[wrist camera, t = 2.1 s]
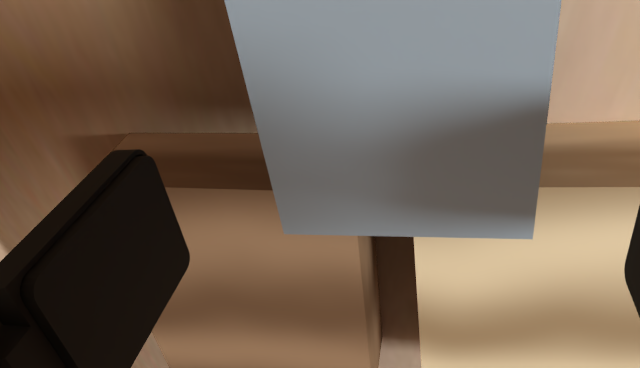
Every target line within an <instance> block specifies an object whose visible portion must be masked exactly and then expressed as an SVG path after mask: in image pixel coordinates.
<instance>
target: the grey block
mask: <svg viewBox="0 0 640 368" xmlns="http://www.w3.org/2000/svg"><path fill="white" fill-rule="evenodd" d="M224 1H225V5H226V9H227V13H228V17H229V21H230V25H231V29H232V32H233V36H234V40H235V44H236V48H237V52H238V56H239V60H240V64H241V68H242V72H243V76H244V79H245V83H246V87H247V91H248V95H249V99H250V103H251V107H252V111H253V115H254V119H255V122H256V126H257V130H258V134H259V138H260V142H261V146H262V150H263V154H264V158H265V162H266V166H267V169H268V173H269V177H270V181H271V185H272V189H273V193H274V197H275V201H276V205H277V209H278V213H279V216H280V220H281V224H282V228H283V232H284V234H299V235H347V236H396V237H444V238H493V239H533V233H534V224H535V216H536V208H537V199H538V191H539V183H540V174H541V166H542V158H543V149H544V141H545V133H546V125H547V116H548V108H549V100H550V91H551V83H552V75H553V66H554V58H555V50H556V41H557V33H558V25H559V16H560V8H561V0H224Z"/></svg>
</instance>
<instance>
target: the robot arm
mask: <svg viewBox="0 0 640 368" xmlns="http://www.w3.org/2000/svg"><path fill="white" fill-rule="evenodd" d="M189 262H190V253H189V250H188V247H187V244H186V242H185V239H184V237H183V234H182V231H181V229H180V226H179V223H178V221H177V218H176V216H175V213H174V210H173V208H172V205H171V202H170V200H169V197H168V195H167V192H166V189H165V187H164V184H163V181H162V179H161V176H160V173H159V171H158V168H157V166H156V163H155V161H154V159H153V158H152V157H150V156H147V154H146V153H145V152H144V151H143V150H140V149H134V150H114V151H112V152H111V153H110V154H109V155H108V156H107V157H106V158H105V159H104V160H103V161H102V162H101V163H100V164H99V165H98V166H96V167H95V168H94V169H93V170H92V171H91V172H90V173H89V174H88V175H87V176H86V177H85V178H84V179H83V180H82V181H81V182H80V183H79V184H78V185H77V186H76V187H75V188H74V189H73V190H72V191H71V192H70V193H69V194H68V195H67V196H66V197H65V198H64V199H63V200H62V201H61V202H60V203H59V204H58V205H57V206H56V207H55V208H54V209H53V210H52V211H51V212H50V213H49V214H48V215H47V216H46V217H45V218H44V219H43V220H42V221H41V222H40V223H39V224H38V225H37V226H36V227H35V228H34V229H33V230H32V231H31V232H30V233H29V234H28V235H27V236H26V237H25V238H24V239H23V240H22V241H21V242H20V243H19V244H18V245H17V246H16V247H15V248H14V249H13V250H12V251H11V252H10V253H9V254H8V255H7V256H6V257H5V258H4V259H3V260H2V261H1V262H0V368H131V366H132V364H133V363H134V361H135V359H136V357H137V356H138V354H139V352H140V350H141V349H142V347H143V345H144V344H145V342H146V340H147V338H148V337H149V335H150V333H151V331H152V330H153V328H154V326H155V324H156V323H157V321H158V319H159V317H160V316H161V314H162V312H163V310H164V309H165V307H166V305H167V304H168V302H169V300H170V298H171V297H172V295H173V293H174V291H175V290H176V288H177V286H178V284H179V283H180V281H181V279H182V277H183V276H184V274H185V272H186V271H187V269H188V266H189ZM624 274H625V281H626V284H627V287H628V290H629V292H630V295H631V297H632V300H633V302H634V305H635V307H636V310H637V312H638V315H639V318H640V205H639V209H638V213H637V217H636V221H635V225H634V229H633V233H632V237H631V241H630V245H629V249H628V253H627V257H626V261H625V266H624Z"/></svg>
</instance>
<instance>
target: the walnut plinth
mask: <svg viewBox="0 0 640 368" xmlns="http://www.w3.org/2000/svg"><path fill="white" fill-rule="evenodd" d="M134 149H140V150H143V151H144V152H145V153H146V154H147V156H150V157H152V158H153V159H154V161H155V163H156V166H157V168H158V171H159V173H160V176H161V179H162V181H163V184H164V187H165V189H166V192H167V195H168V197H169V200H170V202H171V205H172V208H173V210H174V213H175V216H176V218H177V221H178V223H179V226H180V229H181V231H182V234H183V237H184V239H185V242H186V244H187V247H188V250H189V253H190V262H189V266H188V269H187V271H186V272H185V274H184V276H183V277H182V279H181V281H180V283H179V284H178V286H177V288H176V290H175V291H174V293H173V295H172V297H171V298H170V300H169V302H168V304H167V305H166V307H165V309H164V310H163V312H162V314H161V316H160V317H159V319H158V321H157V323H156V324H155V326H154V328H153V330H152V333H153V335H154V337H155V339H156V341H157V343H158V345H159V347H160V349H161V351H162V353H163V356H164V358H165V360H166V362H167V364H168V366H169V368H378V365H379V357H380V349H381V341H382V327H381V313H380V299H379V285H378V271H377V257H376V243H375V236H347V235H299V234H284V232H283V228H282V224H281V220H280V216H279V213H278V209H277V205H276V201H275V197H274V193H273V189H272V185H271V181H270V177H269V173H268V169H267V166H266V162H265V158H264V154H263V150H262V146H261V142H260V138H259V134H258V133H129V134H128V135H127V136H126V137H125V138H124V139H123V140H122V141H121V142H120V143H119V144H118V146H117V147H116V148H115V149H114V150H134ZM114 150H113V151H114Z"/></svg>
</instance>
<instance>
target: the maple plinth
mask: <svg viewBox="0 0 640 368" xmlns="http://www.w3.org/2000/svg"><path fill="white" fill-rule="evenodd" d="M639 205H640V121H617V122H585V123H553V124H547V125H546V133H545V141H544V149H543V158H542V166H541V174H540V183H539V191H538V199H537V208H536V216H535V224H534V233H533V239H493V238H444V237H414V253H415V270H416V286H417V303H418V319H419V336H420V352H421V368H640V318H639V315H638V312H637V310H636V307H635V305H634V302H633V300H632V297H631V295H630V292H629V290H628V287H627V284H626V281H625V274H624V266H625V261H626V257H627V253H628V249H629V245H630V241H631V237H632V233H633V229H634V225H635V221H636V217H637V213H638V209H639Z"/></svg>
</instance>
